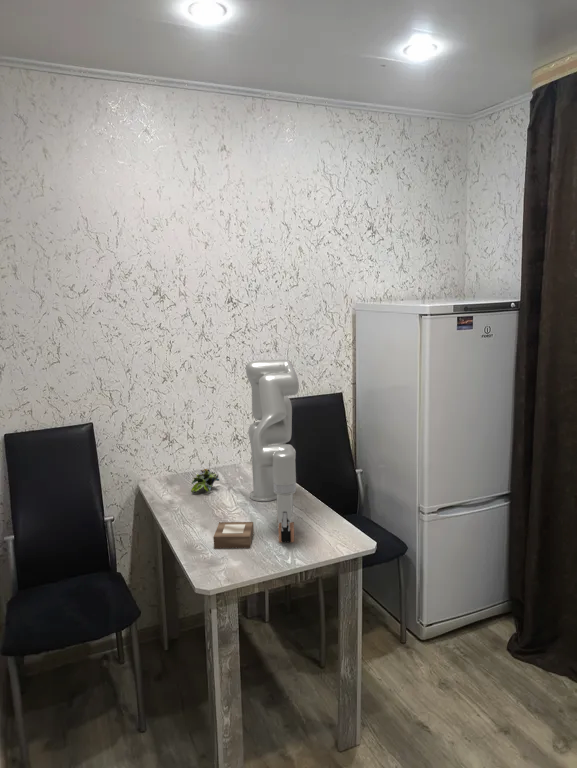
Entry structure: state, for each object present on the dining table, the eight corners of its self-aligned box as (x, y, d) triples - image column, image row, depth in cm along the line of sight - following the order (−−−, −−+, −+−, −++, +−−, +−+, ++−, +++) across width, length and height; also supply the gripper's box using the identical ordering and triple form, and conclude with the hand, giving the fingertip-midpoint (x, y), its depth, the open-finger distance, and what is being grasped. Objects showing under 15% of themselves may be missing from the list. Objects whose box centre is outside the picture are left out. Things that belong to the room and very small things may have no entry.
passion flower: (206, 500, 245) (219, 475, 248) (213, 503, 235) (226, 477, 238) (184, 489, 241) (197, 463, 244) (190, 492, 231) (204, 465, 234)
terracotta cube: (279, 536, 194) (279, 522, 193) (294, 535, 194) (293, 522, 193) (278, 542, 189) (278, 528, 188) (293, 542, 189) (293, 528, 188)
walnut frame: (219, 533, 198) (219, 521, 197) (253, 532, 197) (253, 521, 196) (214, 548, 186) (213, 536, 185) (250, 548, 185) (249, 536, 185)
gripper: (275, 478, 197) (277, 527, 200) (272, 496, 180) (274, 549, 183) (296, 478, 196) (298, 527, 199) (295, 496, 180) (296, 549, 183)
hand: (286, 537), depth 191 cm, fingers closed on terracotta cube, 4 cm apart
